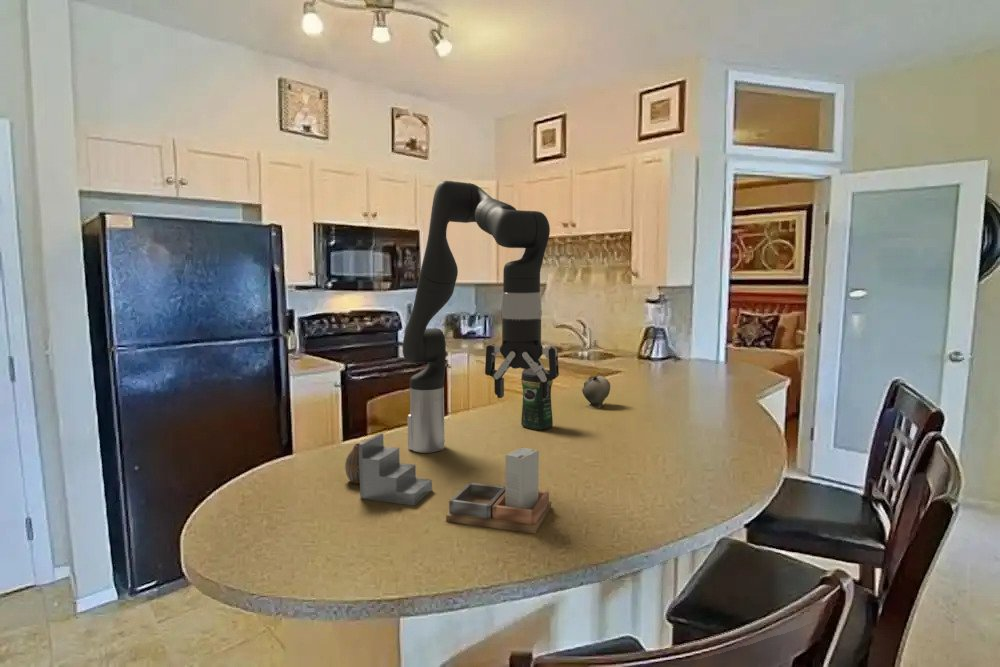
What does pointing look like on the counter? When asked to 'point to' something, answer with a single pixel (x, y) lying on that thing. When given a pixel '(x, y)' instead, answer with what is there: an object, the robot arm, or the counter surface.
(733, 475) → the counter surface
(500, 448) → the counter surface
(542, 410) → the coffee jar
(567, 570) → the counter surface
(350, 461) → the vase
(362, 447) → the gray stair step block
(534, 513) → the divided tray
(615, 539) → the counter surface
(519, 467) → the skincare box
